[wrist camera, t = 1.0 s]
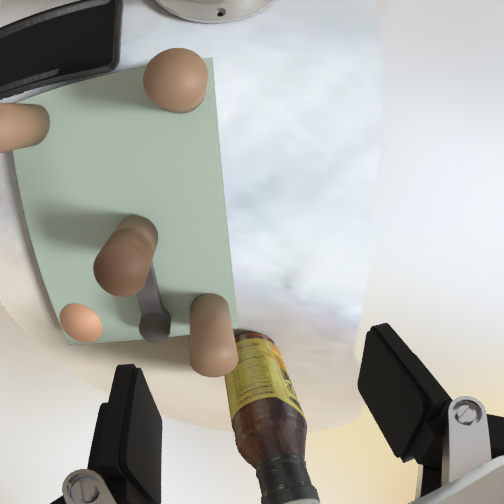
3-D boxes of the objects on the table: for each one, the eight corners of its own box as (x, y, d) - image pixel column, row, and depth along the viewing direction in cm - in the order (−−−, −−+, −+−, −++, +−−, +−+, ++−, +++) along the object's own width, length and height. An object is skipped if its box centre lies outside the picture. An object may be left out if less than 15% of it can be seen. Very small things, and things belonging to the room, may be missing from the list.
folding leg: (178, 328, 29) (175, 378, 23) (141, 332, 28) (132, 381, 22) (154, 212, 24) (140, 241, 18) (112, 219, 24) (87, 249, 18)
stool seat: (21, 106, 21) (-40, 106, 12) (211, 63, 23) (217, 32, 14) (75, 331, 30) (48, 391, 22) (236, 314, 32) (250, 378, 24)
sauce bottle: (272, 369, 36) (321, 519, 18) (220, 371, 35) (244, 531, 17) (280, 325, 34) (347, 488, 16) (222, 326, 33) (253, 504, 15)
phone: (-14, 33, 16) (122, -9, 18) (-8, 35, 17) (125, -5, 19) (-19, 105, 19) (117, 70, 21) (-13, 105, 20) (120, 72, 22)
